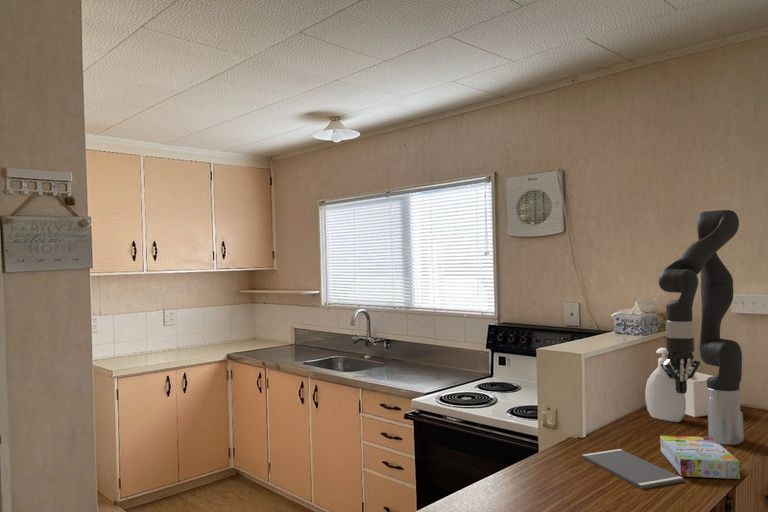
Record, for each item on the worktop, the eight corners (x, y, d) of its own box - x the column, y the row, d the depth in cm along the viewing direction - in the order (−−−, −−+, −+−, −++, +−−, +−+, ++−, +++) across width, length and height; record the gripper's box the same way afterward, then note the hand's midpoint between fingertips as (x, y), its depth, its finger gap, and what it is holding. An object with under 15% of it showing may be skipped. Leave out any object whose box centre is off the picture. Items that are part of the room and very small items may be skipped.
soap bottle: (692, 422, 207) (689, 348, 208) (682, 426, 202) (679, 351, 202) (652, 414, 219) (650, 344, 219) (642, 418, 214) (639, 346, 214)
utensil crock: (694, 406, 228) (693, 371, 228) (724, 415, 214) (723, 378, 215) (665, 410, 224) (664, 374, 224) (694, 419, 210) (693, 381, 211)
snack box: (680, 478, 157) (741, 480, 154) (679, 458, 157) (739, 459, 154) (660, 452, 178) (713, 453, 175) (659, 434, 178) (712, 435, 175)
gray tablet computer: (619, 451, 179) (619, 448, 179) (684, 481, 155) (684, 478, 155) (581, 457, 175) (581, 454, 175) (642, 489, 151) (642, 485, 151)
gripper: (687, 332, 176) (689, 388, 176) (652, 335, 173) (654, 392, 172) (707, 335, 169) (709, 393, 169) (671, 338, 165) (673, 398, 165)
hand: (681, 393), depth 171 cm, fingers closed
